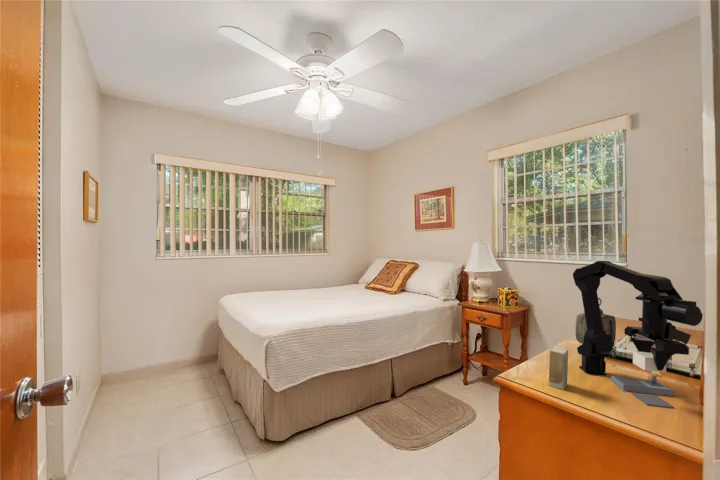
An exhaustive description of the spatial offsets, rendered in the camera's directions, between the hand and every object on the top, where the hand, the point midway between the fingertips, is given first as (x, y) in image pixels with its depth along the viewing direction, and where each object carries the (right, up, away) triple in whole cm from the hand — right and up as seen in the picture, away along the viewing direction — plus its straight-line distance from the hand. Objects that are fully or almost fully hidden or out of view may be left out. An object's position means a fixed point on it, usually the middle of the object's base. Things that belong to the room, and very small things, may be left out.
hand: (652, 366), depth 96 cm
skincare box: (-24, -10, +9) cm, 28 cm away
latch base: (+4, -11, +8) cm, 14 cm away
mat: (0, -11, 0) cm, 11 cm away
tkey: (+7, -9, +6) cm, 13 cm away
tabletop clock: (+14, -11, +42) cm, 46 cm away
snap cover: (-1, 0, 0) cm, 1 cm away
